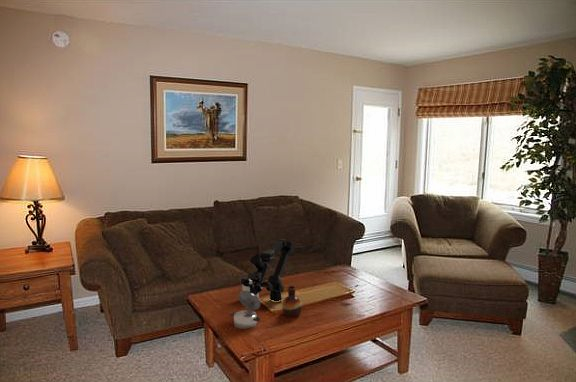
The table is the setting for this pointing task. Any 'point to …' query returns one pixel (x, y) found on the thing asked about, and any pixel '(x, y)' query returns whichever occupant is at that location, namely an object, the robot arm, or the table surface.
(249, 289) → the photo printer
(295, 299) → the vase
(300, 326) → the table surface
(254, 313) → the cooker pot
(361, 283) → the table surface
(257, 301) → the cooker lid
